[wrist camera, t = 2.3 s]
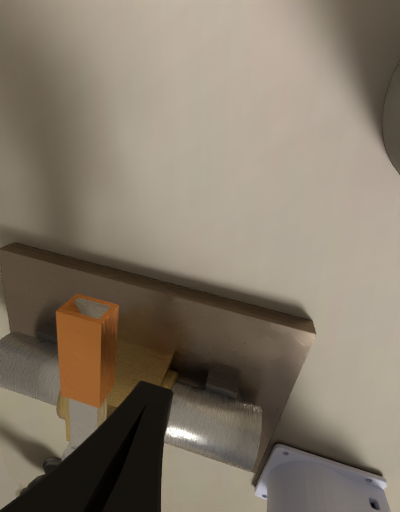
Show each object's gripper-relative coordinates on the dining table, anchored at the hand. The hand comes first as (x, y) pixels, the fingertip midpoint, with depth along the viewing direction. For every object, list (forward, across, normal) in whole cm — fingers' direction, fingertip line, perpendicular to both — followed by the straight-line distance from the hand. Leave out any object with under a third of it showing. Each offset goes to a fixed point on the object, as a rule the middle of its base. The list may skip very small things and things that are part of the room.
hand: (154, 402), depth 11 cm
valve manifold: (+10, +4, +9) cm, 14 cm away
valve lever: (+3, +4, +4) cm, 6 cm away
